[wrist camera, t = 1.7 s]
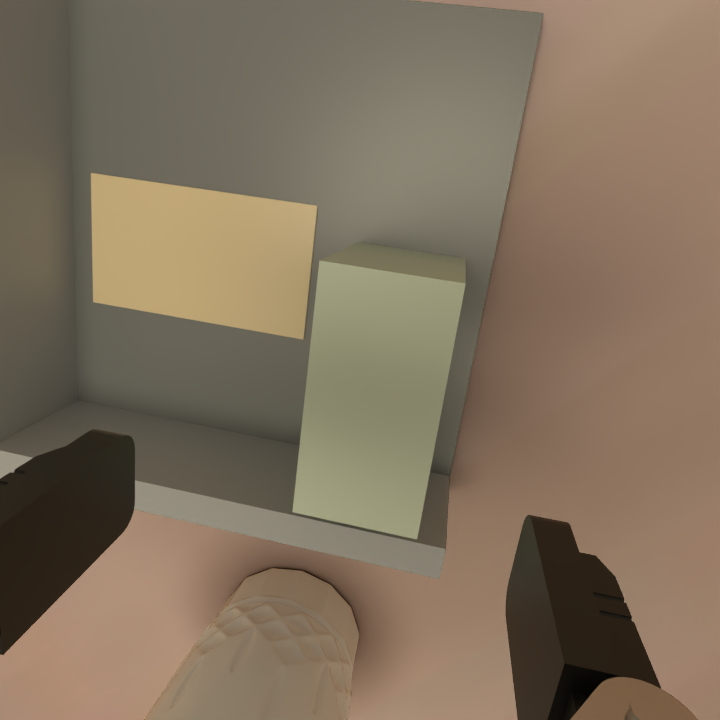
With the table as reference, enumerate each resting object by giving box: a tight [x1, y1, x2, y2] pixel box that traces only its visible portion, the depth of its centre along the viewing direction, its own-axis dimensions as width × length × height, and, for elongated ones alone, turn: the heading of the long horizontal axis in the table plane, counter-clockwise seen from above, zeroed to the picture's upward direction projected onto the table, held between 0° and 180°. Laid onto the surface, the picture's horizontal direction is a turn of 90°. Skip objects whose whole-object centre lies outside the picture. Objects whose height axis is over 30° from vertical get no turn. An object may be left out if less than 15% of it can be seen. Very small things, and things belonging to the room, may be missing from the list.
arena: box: [0, 0, 544, 579], centre depth 20 cm, size 18×18×6 cm
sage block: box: [292, 242, 466, 539], centre depth 19 cm, size 4×8×6 cm, turn 173°
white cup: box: [144, 568, 359, 720], centre depth 23 cm, size 8×8×10 cm
